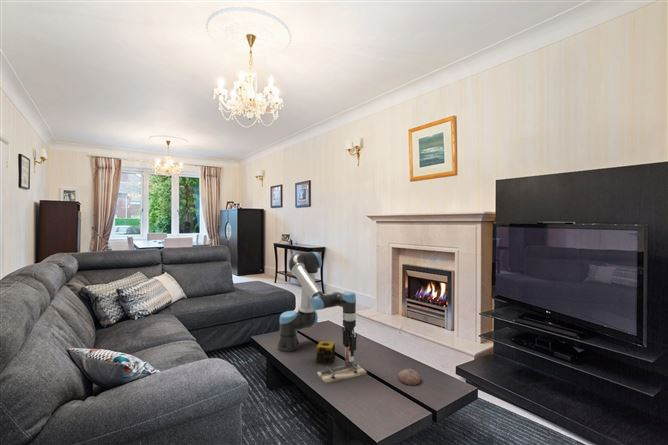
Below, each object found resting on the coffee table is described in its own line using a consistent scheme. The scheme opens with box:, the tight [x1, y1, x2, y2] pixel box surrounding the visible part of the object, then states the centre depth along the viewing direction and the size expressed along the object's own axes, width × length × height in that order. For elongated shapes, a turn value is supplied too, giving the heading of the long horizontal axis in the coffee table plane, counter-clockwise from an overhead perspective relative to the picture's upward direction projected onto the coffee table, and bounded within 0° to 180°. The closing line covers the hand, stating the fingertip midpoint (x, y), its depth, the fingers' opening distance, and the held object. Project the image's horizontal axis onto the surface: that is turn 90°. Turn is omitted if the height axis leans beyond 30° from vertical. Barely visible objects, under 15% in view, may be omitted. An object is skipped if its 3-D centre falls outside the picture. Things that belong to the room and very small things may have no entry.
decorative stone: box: [397, 368, 422, 386], centre depth 174 cm, size 12×12×6 cm
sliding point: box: [344, 346, 357, 372], centre depth 184 cm, size 10×4×11 cm, turn 27°
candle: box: [315, 340, 336, 365], centre depth 199 cm, size 10×10×10 cm
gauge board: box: [317, 364, 368, 385], centre depth 181 cm, size 12×25×1 cm, turn 117°
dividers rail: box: [320, 362, 359, 378], centre depth 181 cm, size 9×23×3 cm, turn 117°
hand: (349, 359), depth 187 cm, fingers closed on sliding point, 4 cm apart
